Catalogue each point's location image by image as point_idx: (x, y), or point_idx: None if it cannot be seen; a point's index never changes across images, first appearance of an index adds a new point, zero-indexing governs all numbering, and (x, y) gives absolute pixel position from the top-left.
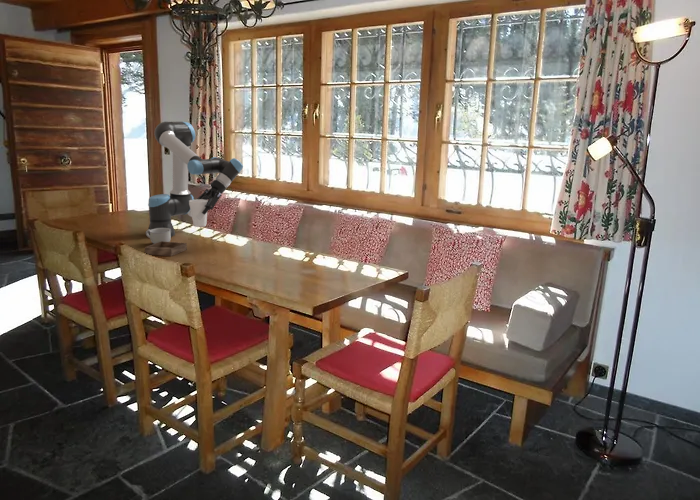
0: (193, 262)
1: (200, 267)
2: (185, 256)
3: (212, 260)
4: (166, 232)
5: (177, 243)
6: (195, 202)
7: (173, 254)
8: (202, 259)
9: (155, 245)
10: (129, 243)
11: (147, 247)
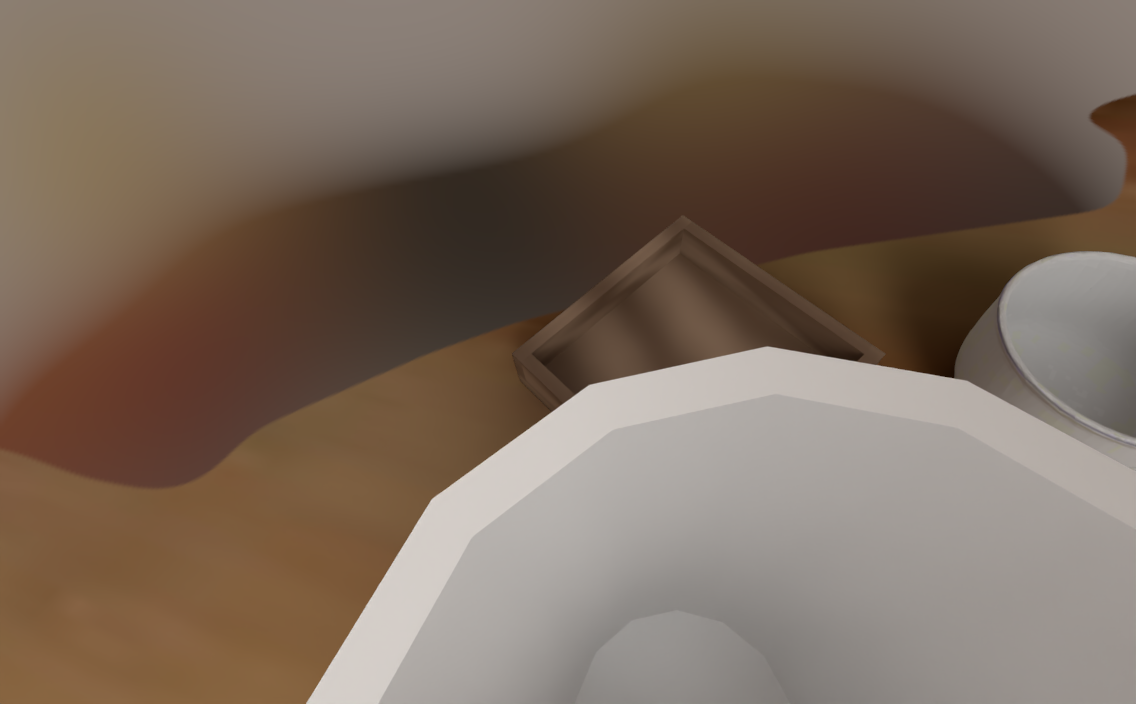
0: (230, 472)
1: (65, 474)
2: (449, 472)
3: (163, 640)
4: (1032, 389)
5: None
6: (424, 521)
7: (541, 398)
8: (260, 569)
9: (774, 301)
10: (1097, 217)
11: (666, 228)
